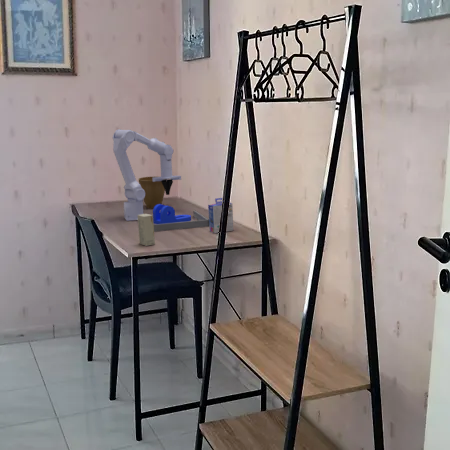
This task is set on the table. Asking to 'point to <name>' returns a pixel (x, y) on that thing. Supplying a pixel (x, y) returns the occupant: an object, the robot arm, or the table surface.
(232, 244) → the table surface
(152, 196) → the plant pot
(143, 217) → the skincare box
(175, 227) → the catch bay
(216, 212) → the ink cartridge box
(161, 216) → the bracket
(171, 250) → the table surface
